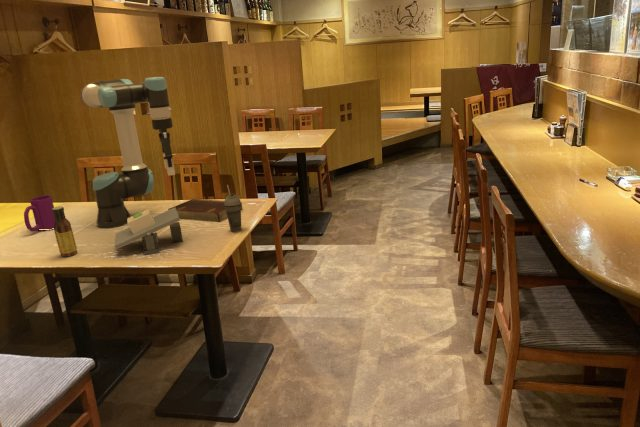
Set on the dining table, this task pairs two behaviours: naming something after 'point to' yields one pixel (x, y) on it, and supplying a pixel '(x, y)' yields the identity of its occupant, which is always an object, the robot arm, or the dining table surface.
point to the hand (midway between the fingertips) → (170, 171)
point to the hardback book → (202, 210)
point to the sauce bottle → (63, 233)
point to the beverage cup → (233, 211)
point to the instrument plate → (158, 225)
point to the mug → (40, 213)
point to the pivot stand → (152, 240)
